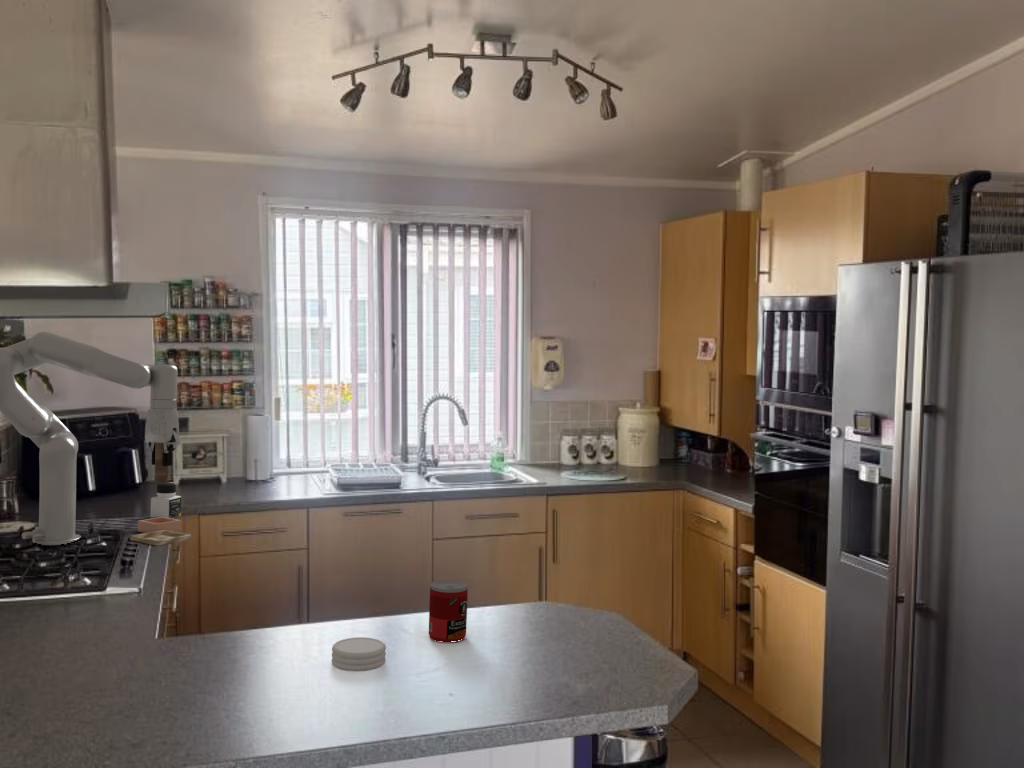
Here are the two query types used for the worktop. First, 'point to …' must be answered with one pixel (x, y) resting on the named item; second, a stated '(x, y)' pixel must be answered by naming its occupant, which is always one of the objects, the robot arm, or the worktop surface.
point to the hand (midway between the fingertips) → (161, 464)
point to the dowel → (160, 464)
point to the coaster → (358, 654)
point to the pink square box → (159, 524)
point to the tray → (160, 537)
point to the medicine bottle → (166, 501)
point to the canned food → (448, 610)
